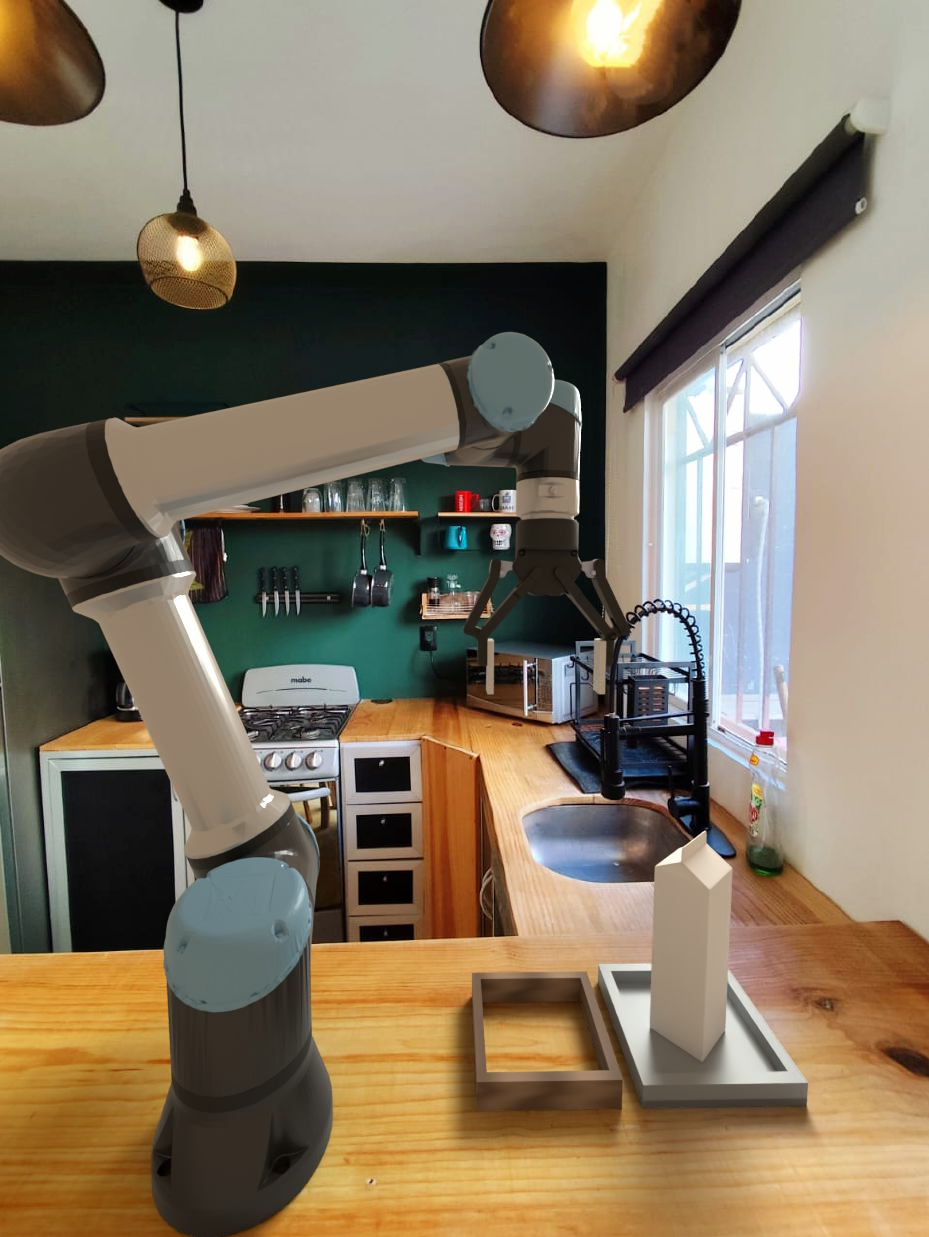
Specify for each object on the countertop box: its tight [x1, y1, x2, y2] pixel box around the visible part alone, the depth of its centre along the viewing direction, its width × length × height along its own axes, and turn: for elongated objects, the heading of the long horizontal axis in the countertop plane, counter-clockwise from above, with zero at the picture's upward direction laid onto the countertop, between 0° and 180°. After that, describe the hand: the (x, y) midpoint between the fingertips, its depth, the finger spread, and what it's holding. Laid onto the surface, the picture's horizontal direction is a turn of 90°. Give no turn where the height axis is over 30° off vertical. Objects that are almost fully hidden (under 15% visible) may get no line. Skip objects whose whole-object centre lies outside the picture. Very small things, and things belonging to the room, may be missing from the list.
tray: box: [597, 962, 809, 1109], centre depth 59 cm, size 16×16×2 cm
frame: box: [471, 971, 624, 1112], centre depth 58 cm, size 14×14×3 cm
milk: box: [650, 830, 733, 1062], centre depth 58 cm, size 6×6×22 cm
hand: (544, 692), depth 66 cm, fingers open, 13 cm apart
